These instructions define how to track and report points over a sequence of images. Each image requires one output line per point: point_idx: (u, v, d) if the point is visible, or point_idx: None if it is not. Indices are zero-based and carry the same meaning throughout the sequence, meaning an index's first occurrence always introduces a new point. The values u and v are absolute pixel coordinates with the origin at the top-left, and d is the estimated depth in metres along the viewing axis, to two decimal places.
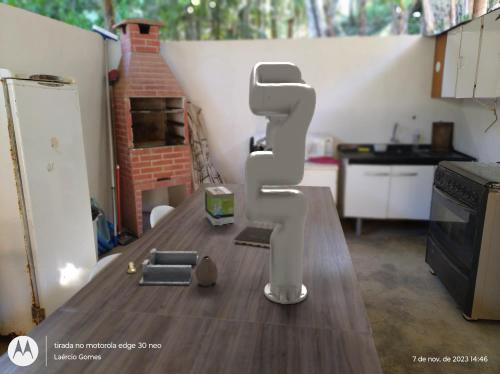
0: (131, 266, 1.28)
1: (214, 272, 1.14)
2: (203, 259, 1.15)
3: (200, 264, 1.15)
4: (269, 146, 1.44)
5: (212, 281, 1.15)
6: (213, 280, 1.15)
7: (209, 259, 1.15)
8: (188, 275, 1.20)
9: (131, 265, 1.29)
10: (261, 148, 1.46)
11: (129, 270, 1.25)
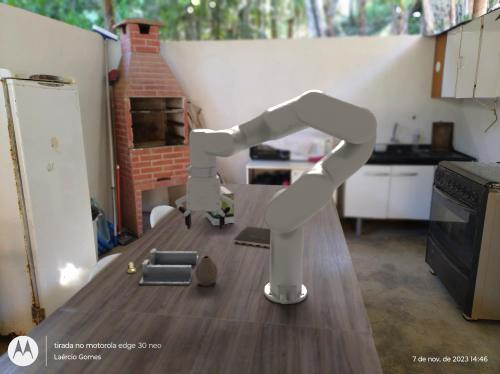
0: (131, 266, 1.28)
1: (214, 272, 1.14)
2: (203, 259, 1.15)
3: (200, 264, 1.15)
4: (190, 208, 1.09)
5: (212, 281, 1.15)
6: (213, 280, 1.15)
7: (209, 259, 1.15)
8: (188, 275, 1.20)
9: (131, 265, 1.29)
10: (181, 210, 1.11)
11: (129, 270, 1.25)
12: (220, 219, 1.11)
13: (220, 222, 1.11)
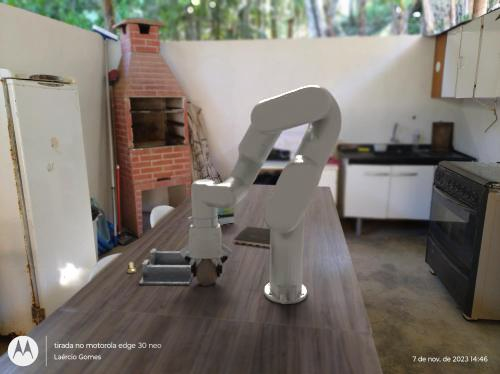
0: (131, 266, 1.28)
1: (214, 271, 1.14)
2: (203, 259, 1.15)
3: (200, 264, 1.15)
4: (192, 256, 1.13)
5: (212, 281, 1.15)
6: (213, 280, 1.15)
7: (209, 259, 1.15)
8: (188, 275, 1.20)
9: (131, 265, 1.29)
10: (187, 259, 1.15)
11: (129, 270, 1.25)
12: (218, 268, 1.15)
13: (218, 271, 1.15)
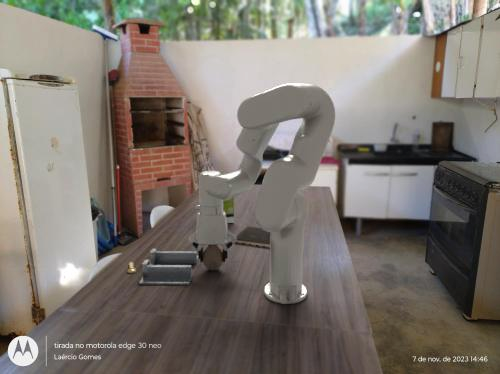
0: (131, 266, 1.28)
1: (219, 256, 1.23)
2: (210, 245, 1.23)
3: (207, 250, 1.23)
4: (200, 242, 1.21)
5: (218, 265, 1.23)
6: (219, 264, 1.23)
7: (215, 245, 1.23)
8: (188, 275, 1.20)
9: (131, 265, 1.29)
10: (195, 245, 1.24)
11: (129, 270, 1.25)
12: (223, 253, 1.23)
13: (223, 256, 1.23)
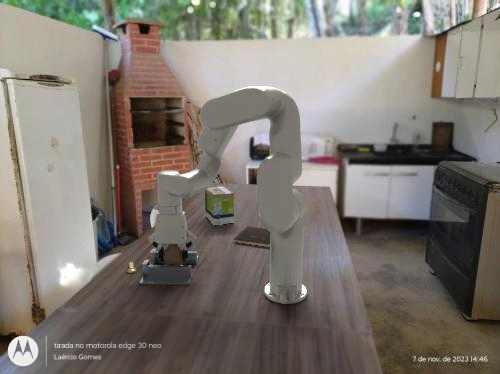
0: (131, 266, 1.28)
1: (179, 256, 1.23)
2: (169, 244, 1.24)
3: (167, 249, 1.24)
4: (159, 242, 1.21)
5: None
6: (179, 264, 1.24)
7: (175, 244, 1.24)
8: (188, 275, 1.20)
9: (131, 265, 1.29)
10: (155, 244, 1.24)
11: (129, 270, 1.25)
12: (183, 253, 1.23)
13: (183, 255, 1.24)
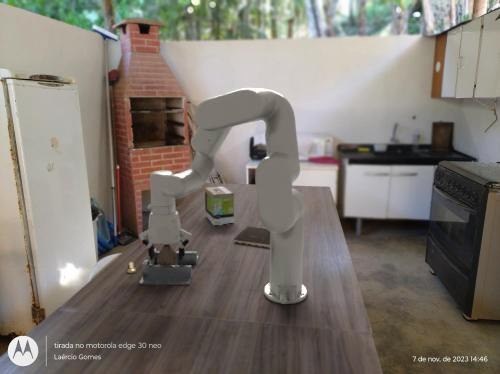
0: (131, 266, 1.28)
1: (173, 259, 1.23)
2: (163, 247, 1.24)
3: (161, 252, 1.24)
4: (152, 242, 1.21)
5: None
6: None
7: (169, 247, 1.24)
8: (188, 275, 1.20)
9: (131, 265, 1.29)
10: (145, 242, 1.24)
11: (129, 270, 1.25)
12: (179, 251, 1.23)
13: (179, 253, 1.24)
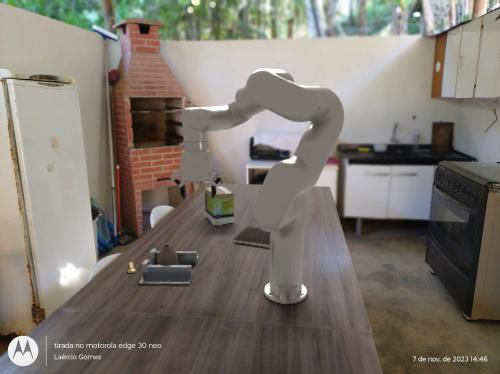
0: (131, 266, 1.28)
1: (173, 259, 1.23)
2: (163, 247, 1.24)
3: (161, 252, 1.24)
4: (185, 179, 1.22)
5: None
6: None
7: (169, 247, 1.24)
8: (188, 275, 1.20)
9: (131, 265, 1.29)
10: (177, 181, 1.24)
11: (129, 270, 1.25)
12: (212, 188, 1.24)
13: (212, 191, 1.24)
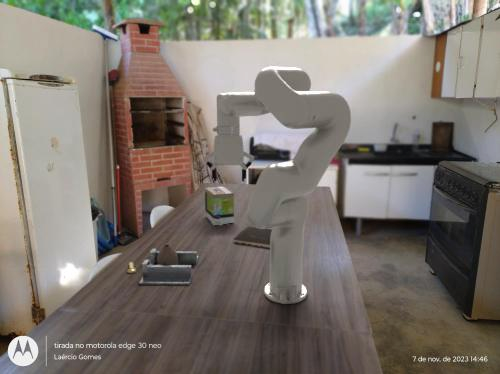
0: (131, 266, 1.28)
1: (173, 259, 1.23)
2: (163, 247, 1.24)
3: (161, 252, 1.24)
4: (217, 162, 1.26)
5: None
6: None
7: (169, 247, 1.24)
8: (188, 275, 1.20)
9: (131, 265, 1.29)
10: (209, 164, 1.28)
11: (129, 270, 1.25)
12: (242, 172, 1.28)
13: (242, 175, 1.28)
